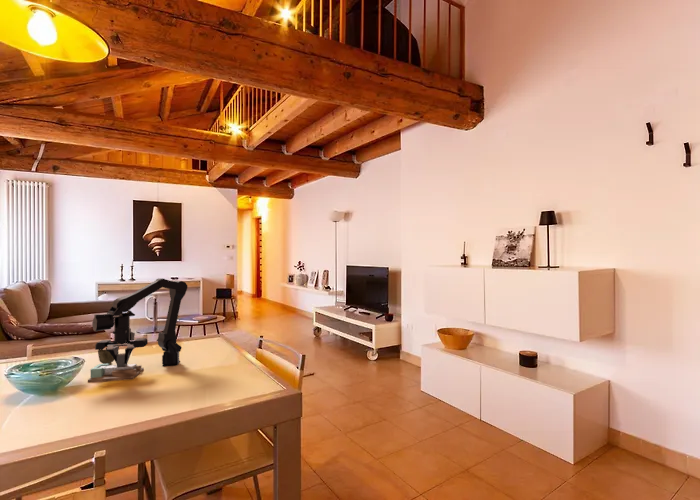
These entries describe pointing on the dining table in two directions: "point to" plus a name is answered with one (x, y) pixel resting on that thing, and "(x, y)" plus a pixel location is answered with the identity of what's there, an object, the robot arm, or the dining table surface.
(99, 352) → the cup
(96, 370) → the socket block
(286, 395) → the dining table surface
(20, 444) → the dining table surface
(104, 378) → the slide base
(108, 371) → the grey t-shaped block
